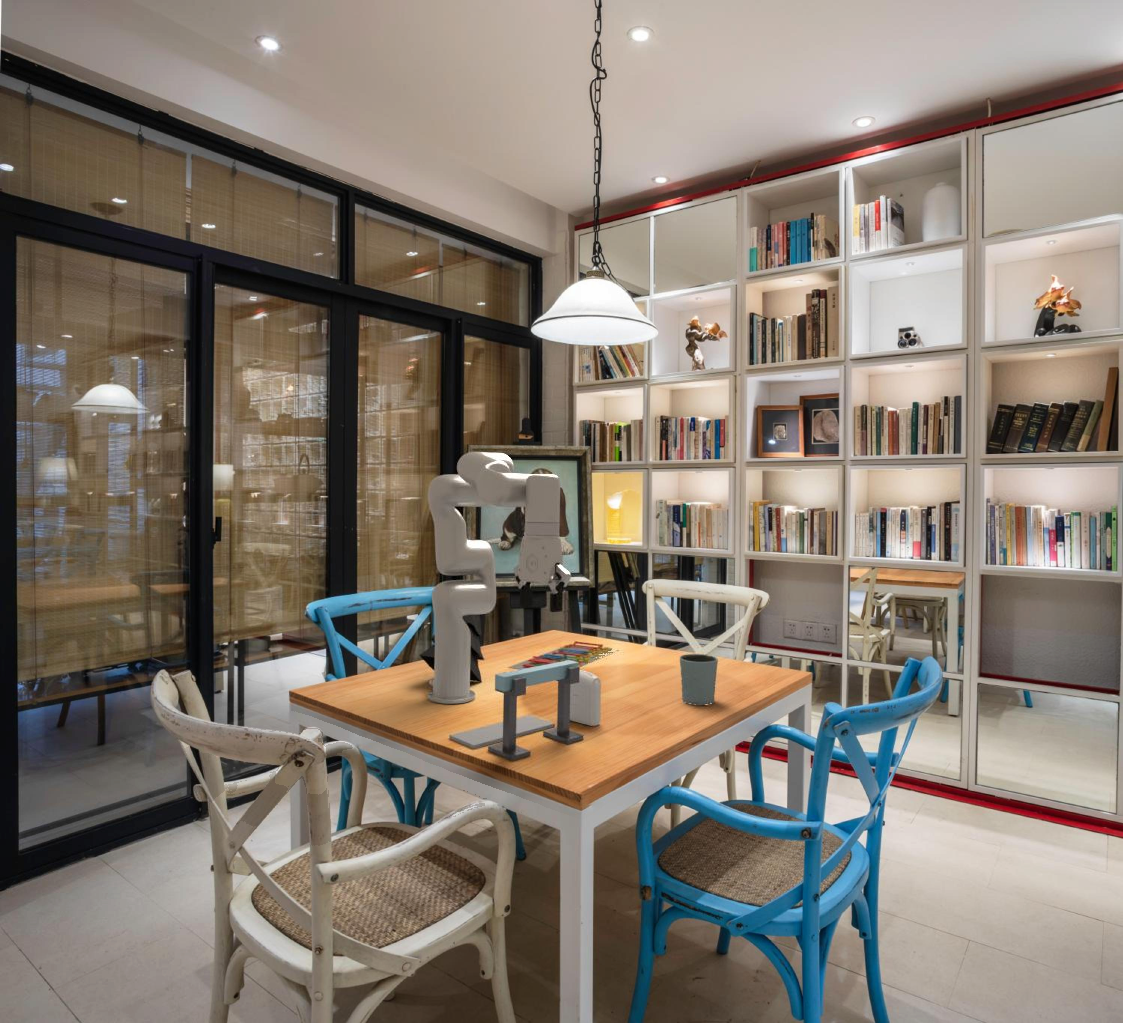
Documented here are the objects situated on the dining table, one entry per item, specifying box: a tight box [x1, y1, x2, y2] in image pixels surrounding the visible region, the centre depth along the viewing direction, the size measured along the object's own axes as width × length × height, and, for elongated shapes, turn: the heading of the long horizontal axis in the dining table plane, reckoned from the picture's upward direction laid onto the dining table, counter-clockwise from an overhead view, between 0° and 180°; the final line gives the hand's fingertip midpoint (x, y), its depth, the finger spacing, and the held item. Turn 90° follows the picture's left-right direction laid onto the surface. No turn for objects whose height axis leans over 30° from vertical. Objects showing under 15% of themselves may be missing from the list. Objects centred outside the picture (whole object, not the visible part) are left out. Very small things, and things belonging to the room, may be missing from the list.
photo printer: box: [570, 669, 602, 727], centre depth 181 cm, size 10×4×12 cm, turn 47°
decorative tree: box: [419, 614, 485, 683], centre depth 221 cm, size 15×15×35 cm
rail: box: [494, 660, 579, 691], centre depth 163 cm, size 3×22×3 cm, turn 134°
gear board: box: [507, 641, 614, 670], centre depth 252 cm, size 45×2×19 cm
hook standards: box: [487, 662, 584, 762], centre depth 163 cm, size 8×21×16 cm, turn 134°
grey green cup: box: [679, 653, 719, 706], centre depth 201 cm, size 10×10×12 cm
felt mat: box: [449, 714, 556, 750], centre depth 171 cm, size 9×24×1 cm, turn 134°
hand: (540, 608), depth 162 cm, fingers open, 9 cm apart
